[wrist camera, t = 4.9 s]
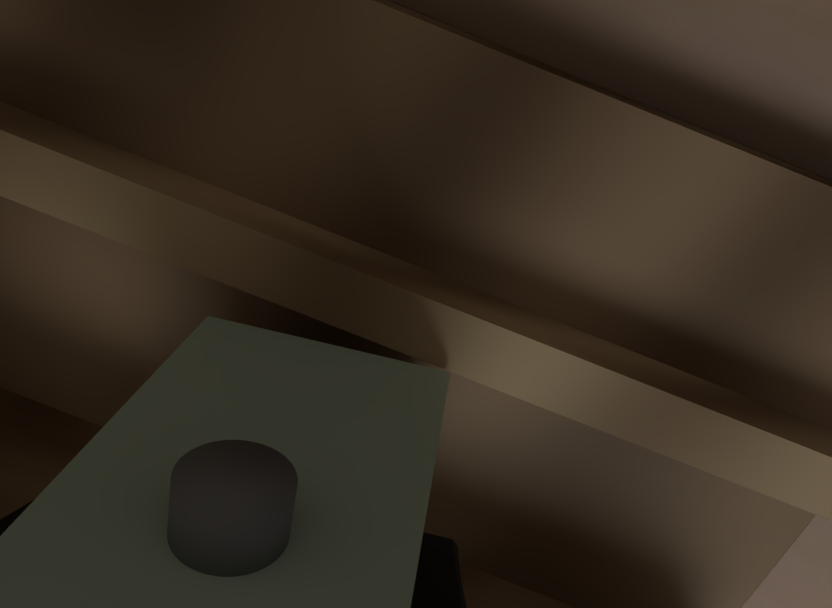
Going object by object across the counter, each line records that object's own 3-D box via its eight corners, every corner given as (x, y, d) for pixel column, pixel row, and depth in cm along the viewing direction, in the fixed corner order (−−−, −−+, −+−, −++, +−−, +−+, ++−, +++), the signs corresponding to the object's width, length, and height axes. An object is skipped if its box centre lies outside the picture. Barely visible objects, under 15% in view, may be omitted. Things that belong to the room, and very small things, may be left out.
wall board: (984, 243, 13) (1189, 360, 9) (663, 660, 18) (704, 854, 14) (-61, -182, 13) (-336, -258, 9) (-95, 371, 18) (-278, 489, 14)
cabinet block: (460, 333, 13) (404, 676, 6) (408, 542, 15) (327, 963, 8) (211, 275, 13) (-85, 554, 7) (193, 490, 15) (-48, 865, 9)
